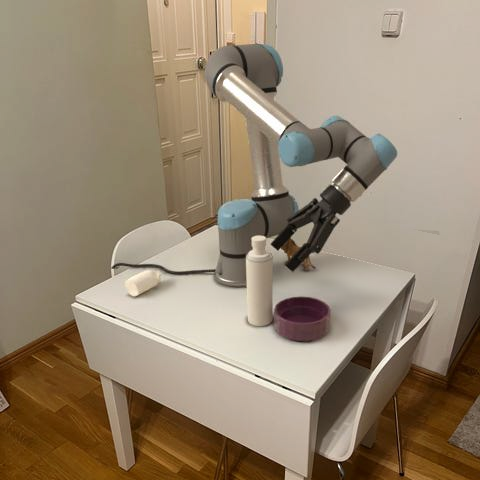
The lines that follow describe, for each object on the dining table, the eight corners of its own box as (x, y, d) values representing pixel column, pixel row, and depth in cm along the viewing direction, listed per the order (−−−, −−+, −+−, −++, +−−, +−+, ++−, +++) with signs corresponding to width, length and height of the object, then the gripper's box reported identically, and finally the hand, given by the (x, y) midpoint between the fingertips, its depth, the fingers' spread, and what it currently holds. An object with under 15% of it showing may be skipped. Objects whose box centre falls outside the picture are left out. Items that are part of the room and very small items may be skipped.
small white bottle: (168, 283, 153) (166, 267, 150) (139, 298, 145) (136, 281, 142) (155, 278, 156) (153, 262, 153) (126, 293, 148) (123, 276, 145)
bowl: (269, 339, 123) (269, 321, 121) (279, 312, 135) (279, 294, 132) (326, 345, 120) (327, 326, 117) (331, 316, 132) (332, 298, 129)
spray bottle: (262, 328, 128) (261, 239, 115) (242, 321, 132) (239, 233, 119) (277, 318, 132) (277, 230, 119) (257, 311, 136) (256, 225, 123)
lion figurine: (274, 261, 164) (274, 236, 159) (283, 256, 168) (283, 231, 163) (311, 272, 156) (312, 246, 151) (320, 267, 159) (321, 241, 155)
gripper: (372, 219, 109) (306, 287, 115) (332, 189, 131) (278, 247, 136) (352, 198, 106) (284, 269, 111) (314, 170, 127) (259, 231, 132)
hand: (280, 257), depth 124 cm, fingers open, 13 cm apart
